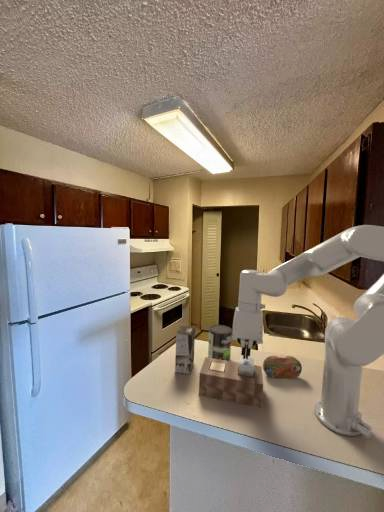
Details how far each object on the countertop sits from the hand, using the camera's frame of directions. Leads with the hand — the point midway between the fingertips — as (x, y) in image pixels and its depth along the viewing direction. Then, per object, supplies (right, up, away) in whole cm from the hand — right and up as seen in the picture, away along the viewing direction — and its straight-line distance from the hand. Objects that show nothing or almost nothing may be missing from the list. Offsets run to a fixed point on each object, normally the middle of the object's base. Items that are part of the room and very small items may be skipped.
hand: (245, 357), depth 80 cm
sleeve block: (-5, -13, +2) cm, 14 cm away
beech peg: (-10, -12, +3) cm, 16 cm away
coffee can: (-6, -12, +24) cm, 27 cm away
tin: (+17, -13, +12) cm, 25 cm away
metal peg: (0, -9, +1) cm, 9 cm away
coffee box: (-22, -12, +16) cm, 29 cm away
